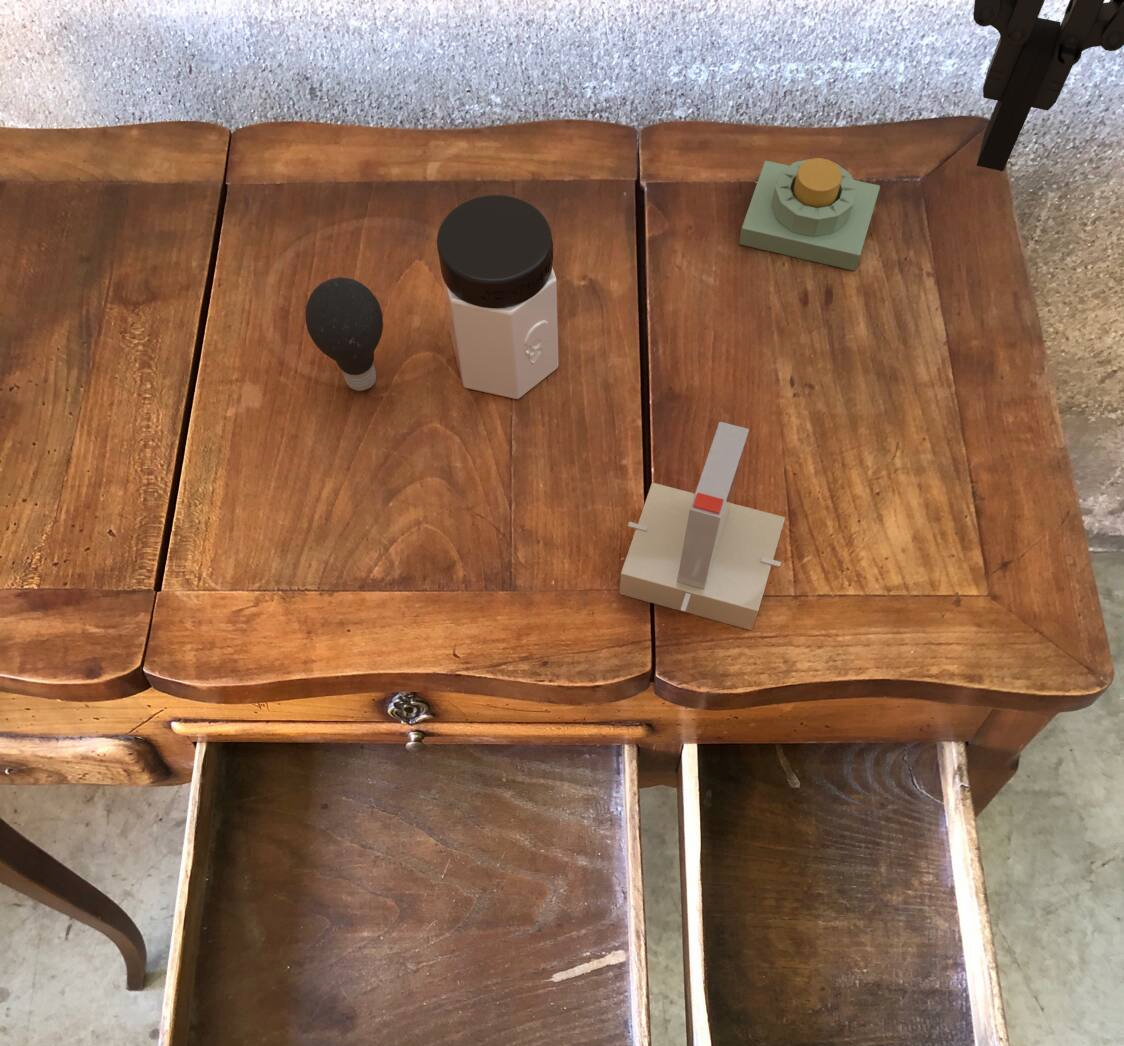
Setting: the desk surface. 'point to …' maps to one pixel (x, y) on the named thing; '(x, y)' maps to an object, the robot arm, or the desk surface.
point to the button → (817, 182)
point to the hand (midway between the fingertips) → (994, 151)
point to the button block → (808, 218)
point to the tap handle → (711, 504)
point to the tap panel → (732, 572)
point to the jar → (500, 294)
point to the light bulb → (346, 327)
